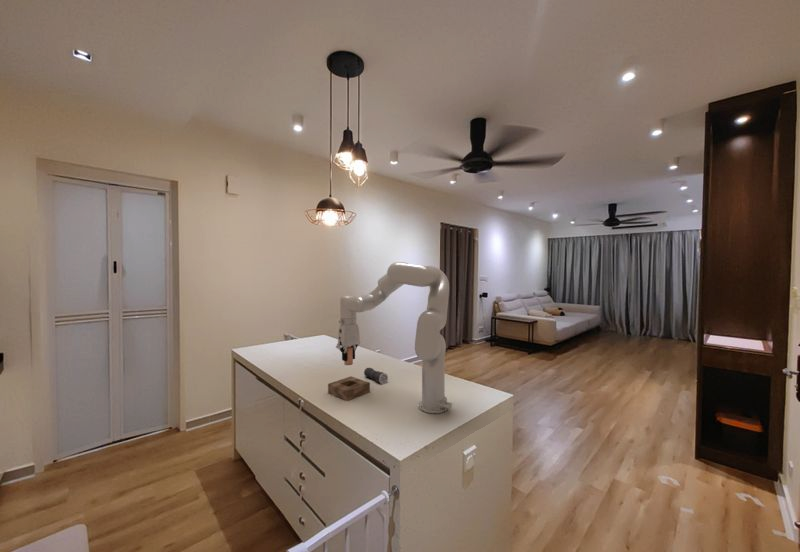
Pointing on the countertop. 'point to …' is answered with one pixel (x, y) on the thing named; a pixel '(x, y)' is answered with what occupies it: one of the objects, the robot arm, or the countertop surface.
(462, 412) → the countertop surface
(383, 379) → the flashlight
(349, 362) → the pin
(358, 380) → the walnut block
